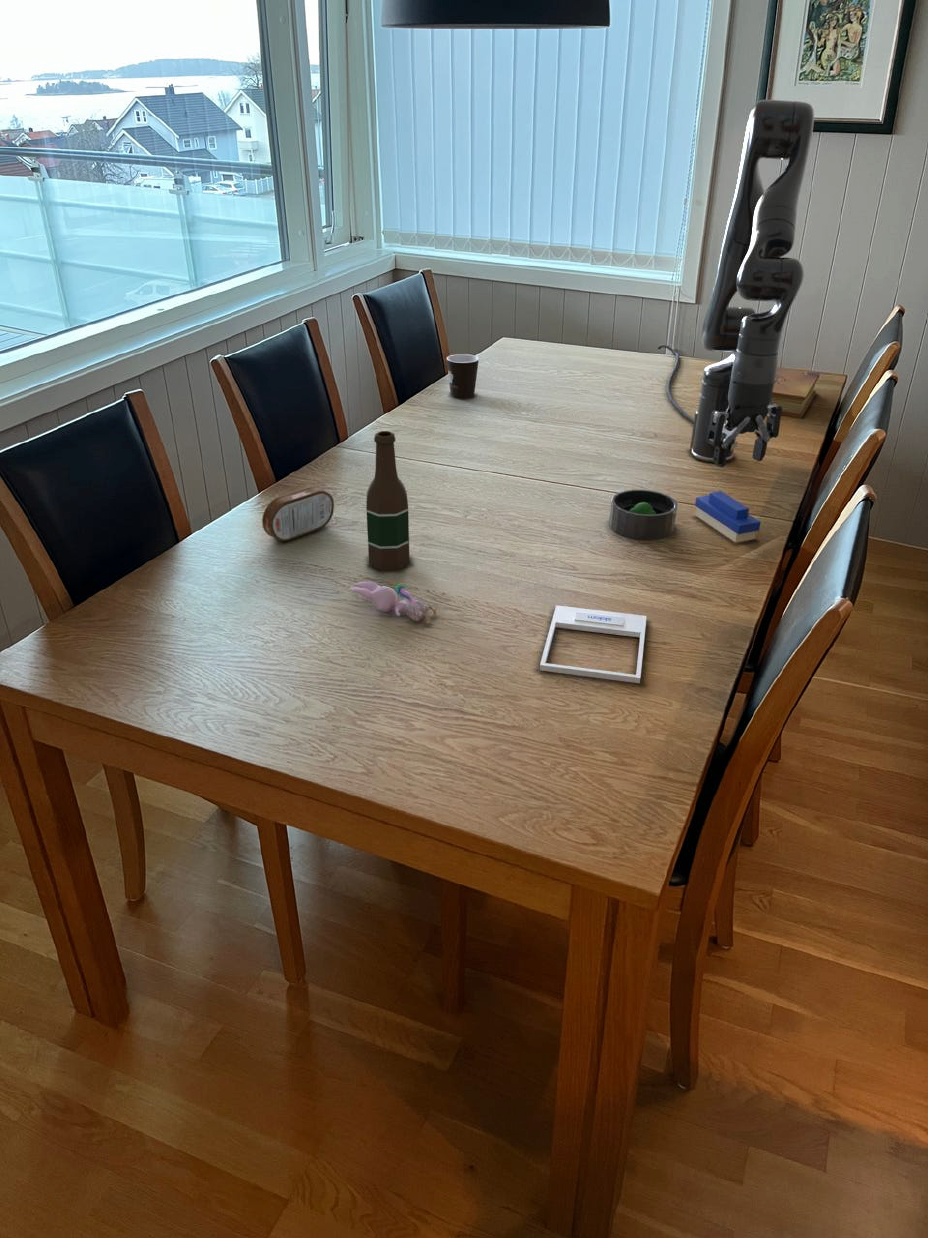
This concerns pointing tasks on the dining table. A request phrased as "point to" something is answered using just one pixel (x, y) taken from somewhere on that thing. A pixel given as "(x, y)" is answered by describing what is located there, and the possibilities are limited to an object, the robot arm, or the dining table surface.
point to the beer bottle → (387, 510)
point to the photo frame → (601, 624)
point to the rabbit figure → (393, 600)
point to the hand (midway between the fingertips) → (738, 462)
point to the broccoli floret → (643, 509)
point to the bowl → (643, 515)
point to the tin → (298, 513)
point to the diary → (793, 391)
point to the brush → (727, 516)
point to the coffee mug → (462, 375)
